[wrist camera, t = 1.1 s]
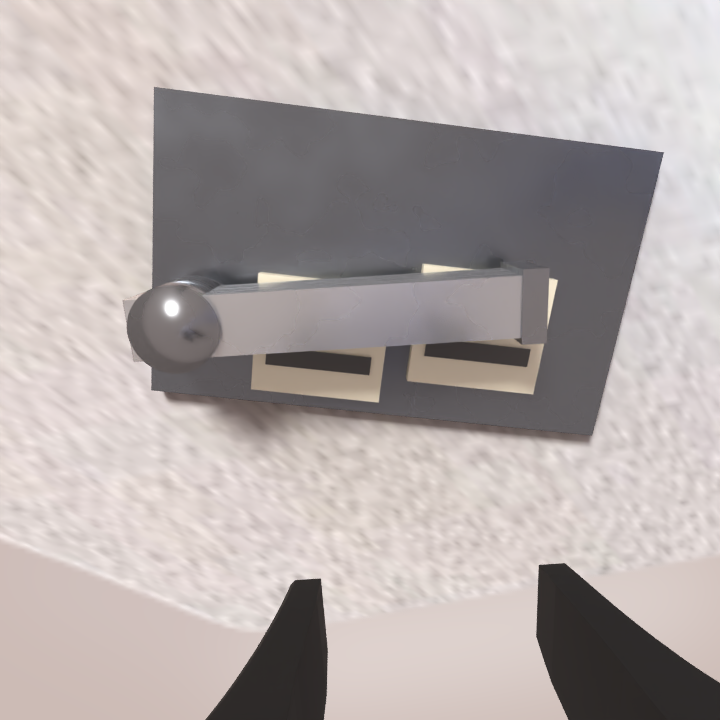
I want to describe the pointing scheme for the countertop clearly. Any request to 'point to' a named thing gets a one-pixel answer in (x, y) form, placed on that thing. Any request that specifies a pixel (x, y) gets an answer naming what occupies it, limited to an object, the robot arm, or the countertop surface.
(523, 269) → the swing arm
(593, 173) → the dark gray base board
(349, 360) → the label plate
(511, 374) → the label plate
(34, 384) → the countertop surface
